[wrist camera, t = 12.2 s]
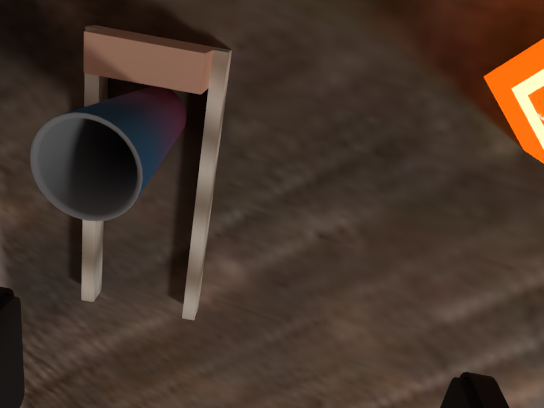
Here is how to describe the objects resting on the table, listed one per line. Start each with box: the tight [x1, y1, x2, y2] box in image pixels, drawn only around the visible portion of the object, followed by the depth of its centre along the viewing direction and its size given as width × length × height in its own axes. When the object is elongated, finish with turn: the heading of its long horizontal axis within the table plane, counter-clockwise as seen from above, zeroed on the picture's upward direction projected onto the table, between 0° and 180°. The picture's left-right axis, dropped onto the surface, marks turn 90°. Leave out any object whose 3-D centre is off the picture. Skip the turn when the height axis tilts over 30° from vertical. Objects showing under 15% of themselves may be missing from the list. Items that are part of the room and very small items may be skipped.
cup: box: [30, 86, 186, 221], centre depth 35 cm, size 7×7×15 cm
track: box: [81, 25, 232, 320], centre depth 43 cm, size 26×11×5 cm, turn 170°
